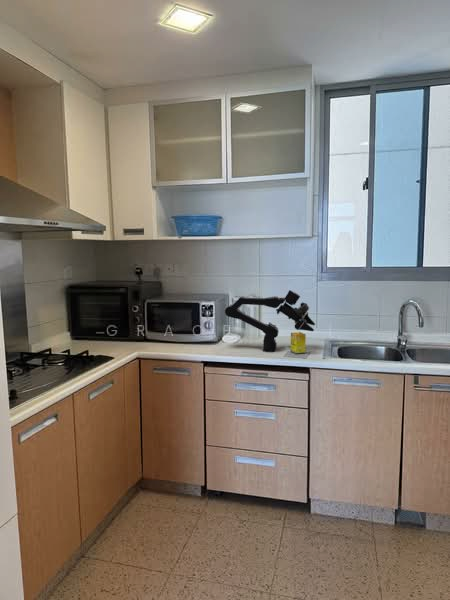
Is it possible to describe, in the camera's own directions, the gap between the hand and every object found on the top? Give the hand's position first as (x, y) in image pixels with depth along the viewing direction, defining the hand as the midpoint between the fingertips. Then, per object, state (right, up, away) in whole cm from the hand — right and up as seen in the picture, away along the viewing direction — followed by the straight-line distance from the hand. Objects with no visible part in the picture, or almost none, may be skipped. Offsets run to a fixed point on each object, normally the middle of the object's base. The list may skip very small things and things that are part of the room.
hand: (314, 327), depth 223 cm
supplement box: (-9, -14, -1) cm, 17 cm away
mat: (-10, -14, -3) cm, 18 cm away
